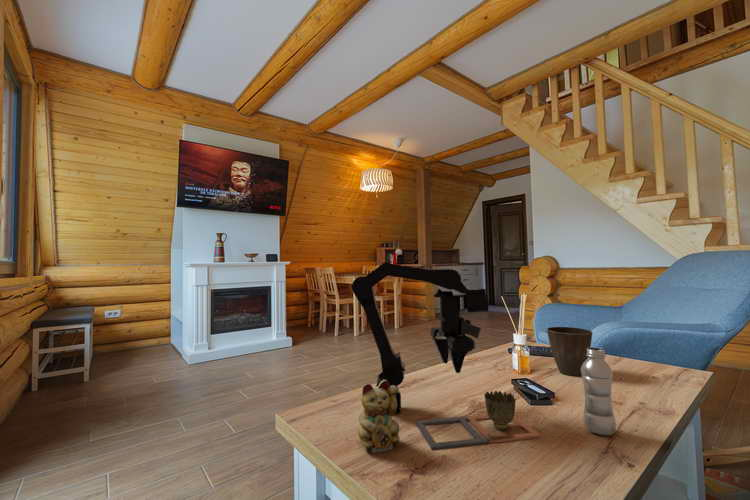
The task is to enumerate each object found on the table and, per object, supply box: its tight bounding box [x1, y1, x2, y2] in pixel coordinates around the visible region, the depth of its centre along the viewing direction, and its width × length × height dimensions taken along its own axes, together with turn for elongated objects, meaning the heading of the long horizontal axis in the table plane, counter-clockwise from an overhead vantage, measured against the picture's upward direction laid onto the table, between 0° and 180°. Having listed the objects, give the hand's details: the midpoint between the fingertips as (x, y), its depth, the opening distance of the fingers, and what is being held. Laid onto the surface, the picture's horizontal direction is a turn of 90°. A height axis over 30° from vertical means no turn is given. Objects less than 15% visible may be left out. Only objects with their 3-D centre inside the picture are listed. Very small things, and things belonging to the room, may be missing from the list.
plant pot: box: [546, 326, 593, 377], centre depth 127 cm, size 15×15×16 cm
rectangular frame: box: [415, 413, 542, 451], centre depth 84 cm, size 27×13×1 cm, turn 99°
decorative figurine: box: [357, 380, 401, 454], centre depth 78 cm, size 10×8×15 cm
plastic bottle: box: [581, 347, 617, 436], centre depth 83 cm, size 6×7×20 cm
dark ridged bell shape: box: [484, 390, 517, 431], centre depth 85 cm, size 8×7×8 cm
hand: (451, 367), depth 96 cm, fingers open, 9 cm apart
